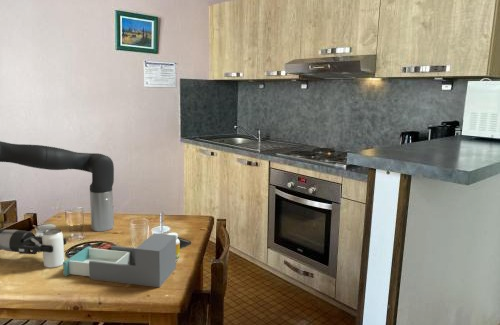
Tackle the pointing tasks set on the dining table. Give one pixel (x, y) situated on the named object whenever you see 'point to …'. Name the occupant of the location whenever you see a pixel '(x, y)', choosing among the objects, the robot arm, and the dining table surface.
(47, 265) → the can
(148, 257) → the dock
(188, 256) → the dining table surface
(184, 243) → the phone
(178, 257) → the supplement bottle
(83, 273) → the tray
